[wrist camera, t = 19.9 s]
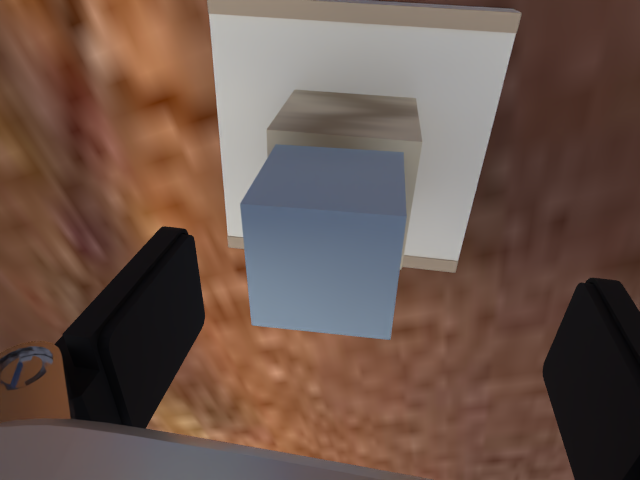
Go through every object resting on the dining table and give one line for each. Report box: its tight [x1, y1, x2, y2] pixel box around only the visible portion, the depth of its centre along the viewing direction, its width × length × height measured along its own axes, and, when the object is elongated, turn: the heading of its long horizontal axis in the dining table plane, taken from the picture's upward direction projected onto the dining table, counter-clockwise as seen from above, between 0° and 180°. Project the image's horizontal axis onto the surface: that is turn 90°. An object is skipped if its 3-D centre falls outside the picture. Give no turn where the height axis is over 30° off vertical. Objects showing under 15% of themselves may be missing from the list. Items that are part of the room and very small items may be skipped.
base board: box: [207, 0, 522, 273], centre depth 25 cm, size 14×14×2 cm
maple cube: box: [267, 90, 422, 270], centre depth 21 cm, size 6×6×6 cm
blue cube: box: [240, 144, 407, 340], centre depth 17 cm, size 5×5×5 cm
